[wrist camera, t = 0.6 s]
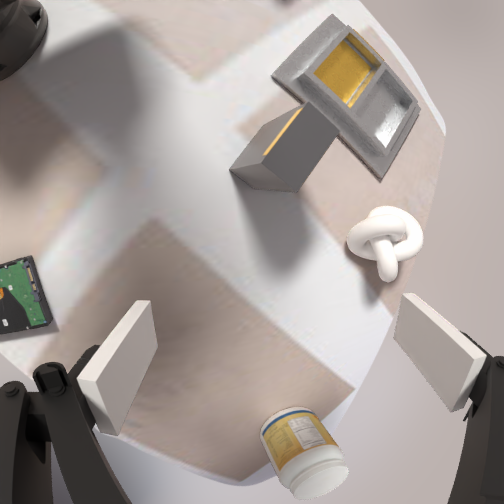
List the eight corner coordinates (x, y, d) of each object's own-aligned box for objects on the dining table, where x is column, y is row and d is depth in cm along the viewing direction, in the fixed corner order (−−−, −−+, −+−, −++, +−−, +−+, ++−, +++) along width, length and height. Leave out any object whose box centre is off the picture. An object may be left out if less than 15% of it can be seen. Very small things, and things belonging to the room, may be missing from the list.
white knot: (327, 259, 46) (360, 275, 38) (352, 188, 45) (389, 191, 36) (376, 275, 50) (409, 292, 41) (398, 213, 48) (434, 220, 40)
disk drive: (-8, 331, 33) (55, 318, 36) (-16, 338, 31) (49, 326, 34) (-30, 273, 30) (32, 252, 34) (-39, 278, 28) (24, 257, 31)
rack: (270, 75, 37) (279, 67, 34) (329, 16, 37) (339, 7, 33) (378, 177, 46) (392, 178, 42) (417, 109, 45) (430, 107, 42)
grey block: (228, 169, 39) (260, 162, 26) (262, 125, 39) (308, 100, 25) (254, 189, 40) (297, 192, 27) (287, 145, 40) (340, 131, 27)
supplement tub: (312, 433, 56) (348, 486, 40) (260, 449, 53) (288, 509, 37) (315, 396, 52) (359, 453, 37) (255, 413, 49) (288, 481, 34)
